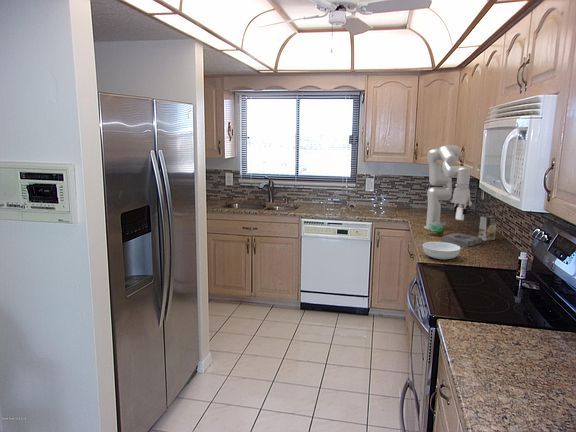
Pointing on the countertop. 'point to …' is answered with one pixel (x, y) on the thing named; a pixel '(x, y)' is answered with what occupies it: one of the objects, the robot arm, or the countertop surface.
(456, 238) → the holder block
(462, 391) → the countertop surface
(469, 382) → the countertop surface
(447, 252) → the serving bowl
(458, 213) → the eye dropper bottle
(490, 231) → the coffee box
